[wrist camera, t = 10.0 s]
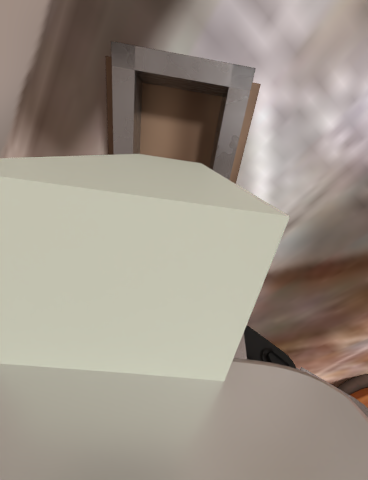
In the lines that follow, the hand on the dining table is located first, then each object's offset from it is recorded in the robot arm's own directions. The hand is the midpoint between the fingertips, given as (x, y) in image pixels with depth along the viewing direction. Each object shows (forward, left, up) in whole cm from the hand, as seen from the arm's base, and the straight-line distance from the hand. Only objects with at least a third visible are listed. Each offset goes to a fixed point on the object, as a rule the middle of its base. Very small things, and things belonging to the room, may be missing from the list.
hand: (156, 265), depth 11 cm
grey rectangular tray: (0, 0, -10) cm, 10 cm away
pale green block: (0, 0, -3) cm, 3 cm away
